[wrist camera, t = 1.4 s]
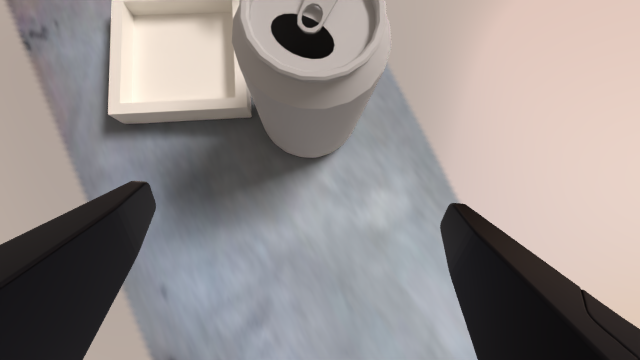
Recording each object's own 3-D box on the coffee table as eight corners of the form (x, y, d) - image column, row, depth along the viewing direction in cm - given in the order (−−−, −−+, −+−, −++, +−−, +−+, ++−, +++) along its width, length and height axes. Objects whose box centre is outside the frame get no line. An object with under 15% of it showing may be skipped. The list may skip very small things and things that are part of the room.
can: (245, 133, 23) (185, 38, 12) (289, 57, 25) (276, -99, 13) (329, 176, 23) (355, 125, 11) (370, 98, 24) (432, -24, 13)
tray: (251, 117, 24) (247, 107, 22) (124, 124, 23) (107, 114, 21) (246, 7, 25) (242, -11, 23) (127, 11, 24) (112, -8, 22)
